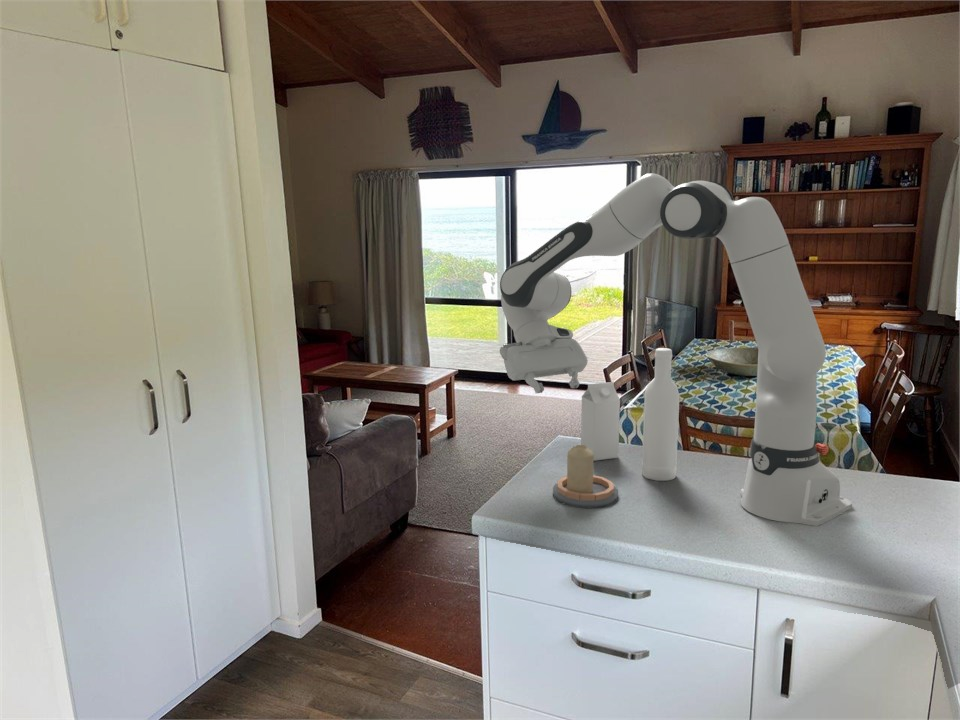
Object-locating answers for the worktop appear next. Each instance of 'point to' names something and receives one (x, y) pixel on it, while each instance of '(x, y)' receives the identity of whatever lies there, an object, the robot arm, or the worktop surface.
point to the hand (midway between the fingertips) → (558, 389)
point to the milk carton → (601, 420)
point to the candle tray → (587, 494)
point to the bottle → (661, 421)
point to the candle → (580, 469)
